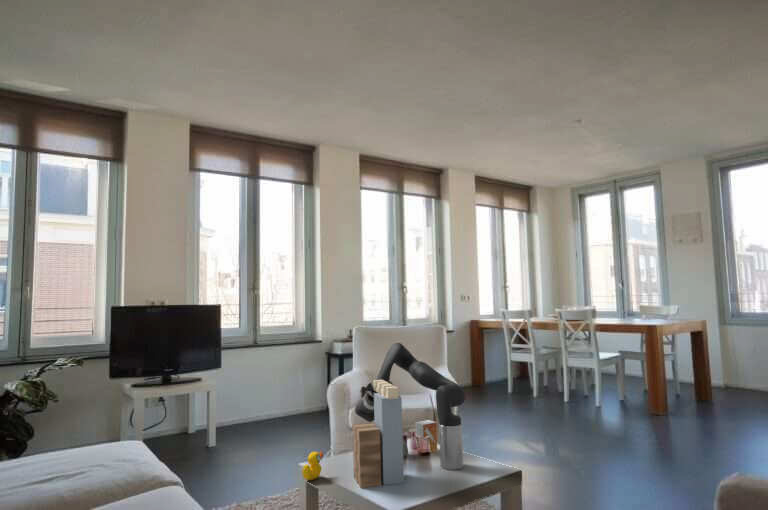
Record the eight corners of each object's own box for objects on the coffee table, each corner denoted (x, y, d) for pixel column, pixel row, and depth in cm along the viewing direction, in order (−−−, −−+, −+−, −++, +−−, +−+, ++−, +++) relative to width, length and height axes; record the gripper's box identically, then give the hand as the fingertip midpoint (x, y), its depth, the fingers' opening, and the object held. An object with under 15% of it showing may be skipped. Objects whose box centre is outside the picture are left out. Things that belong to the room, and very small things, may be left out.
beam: (373, 389, 211) (373, 380, 212) (382, 389, 212) (382, 379, 213) (388, 399, 190) (387, 388, 191) (398, 398, 191) (397, 387, 192)
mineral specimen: (390, 451, 230) (393, 433, 230) (408, 456, 227) (411, 438, 227) (385, 455, 223) (389, 437, 223) (403, 460, 220) (407, 442, 220)
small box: (424, 454, 226) (423, 424, 227) (415, 451, 231) (414, 422, 232) (437, 451, 230) (436, 421, 232) (429, 447, 236) (428, 419, 237)
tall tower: (375, 474, 200) (373, 393, 203) (394, 472, 202) (392, 391, 205) (383, 485, 188) (381, 398, 192) (403, 482, 191) (401, 396, 194)
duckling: (316, 473, 204) (316, 447, 205) (327, 475, 201) (327, 449, 202) (298, 482, 194) (298, 455, 195) (309, 484, 192) (309, 457, 193)
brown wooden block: (353, 477, 198) (352, 424, 200) (373, 475, 200) (372, 422, 202) (360, 488, 186) (359, 431, 188) (381, 485, 188) (379, 429, 190)
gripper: (356, 391, 221) (363, 376, 208) (387, 389, 224) (395, 374, 212) (358, 408, 216) (365, 394, 204) (390, 405, 220) (398, 391, 208)
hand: (380, 384), depth 208 cm, fingers open, 8 cm apart
